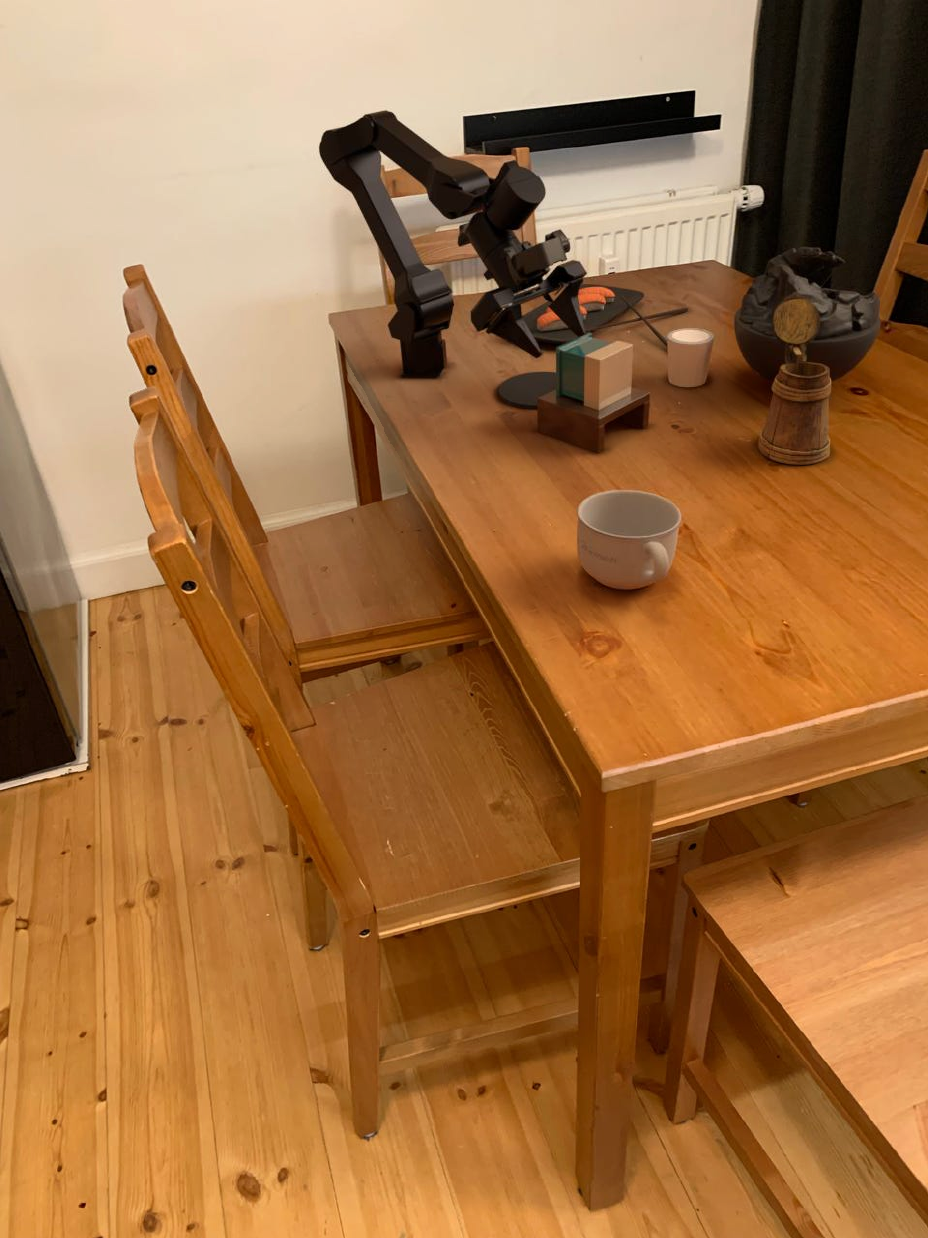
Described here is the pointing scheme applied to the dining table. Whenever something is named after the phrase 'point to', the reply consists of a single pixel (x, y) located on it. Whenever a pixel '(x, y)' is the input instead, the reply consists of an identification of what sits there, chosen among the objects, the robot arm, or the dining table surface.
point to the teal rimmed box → (594, 371)
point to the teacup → (627, 537)
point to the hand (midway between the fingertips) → (561, 346)
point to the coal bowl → (842, 313)
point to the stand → (589, 417)
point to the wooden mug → (797, 390)
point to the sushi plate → (590, 313)
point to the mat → (527, 388)
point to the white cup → (689, 356)
